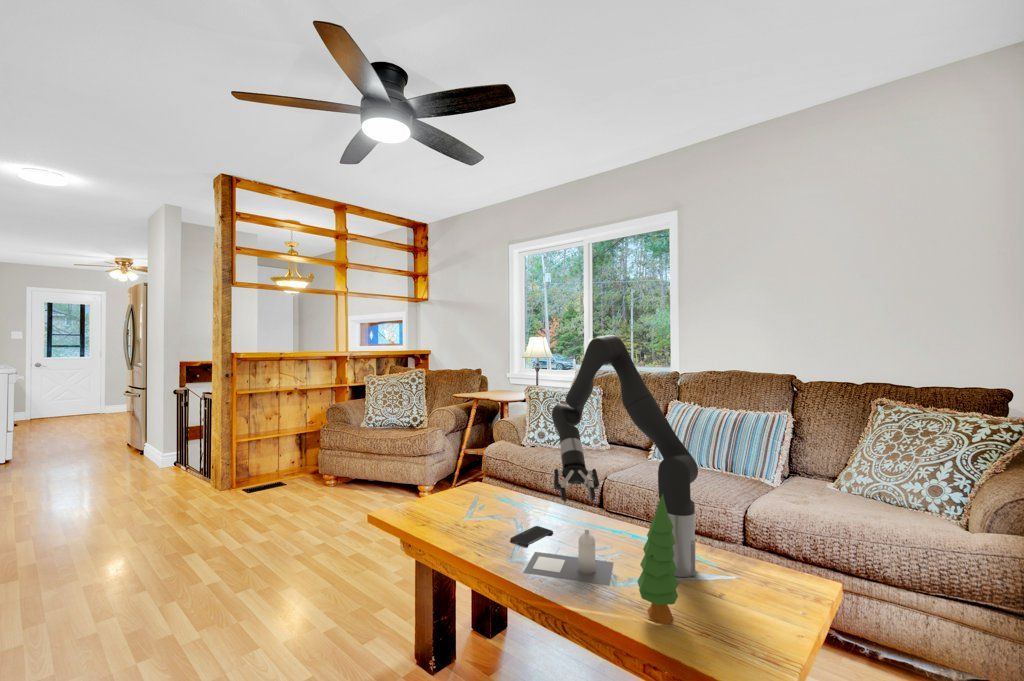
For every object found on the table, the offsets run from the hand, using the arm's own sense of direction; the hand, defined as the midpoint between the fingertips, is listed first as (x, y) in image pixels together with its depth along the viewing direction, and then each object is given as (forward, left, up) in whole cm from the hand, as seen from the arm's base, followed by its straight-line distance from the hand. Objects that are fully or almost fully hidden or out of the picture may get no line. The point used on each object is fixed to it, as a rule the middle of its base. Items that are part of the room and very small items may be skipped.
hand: (578, 500), depth 147 cm
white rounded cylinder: (-4, +11, -16) cm, 20 cm away
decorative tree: (-23, +28, -17) cm, 40 cm away
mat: (+1, +11, -16) cm, 20 cm away
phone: (+17, -8, -17) cm, 25 cm away
